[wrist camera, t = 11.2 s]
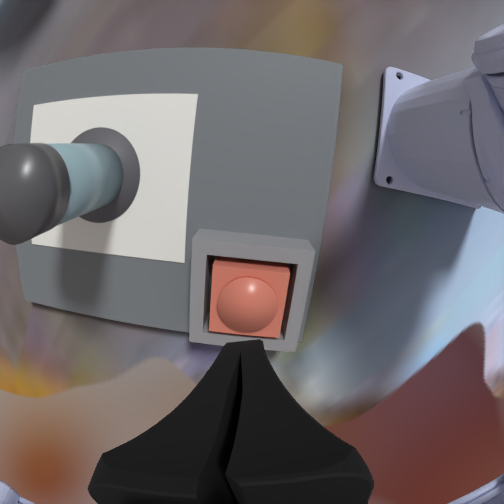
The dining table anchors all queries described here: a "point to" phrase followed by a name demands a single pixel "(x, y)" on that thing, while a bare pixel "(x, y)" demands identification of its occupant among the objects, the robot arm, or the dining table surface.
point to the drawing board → (185, 180)
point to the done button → (248, 296)
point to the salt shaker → (53, 185)
